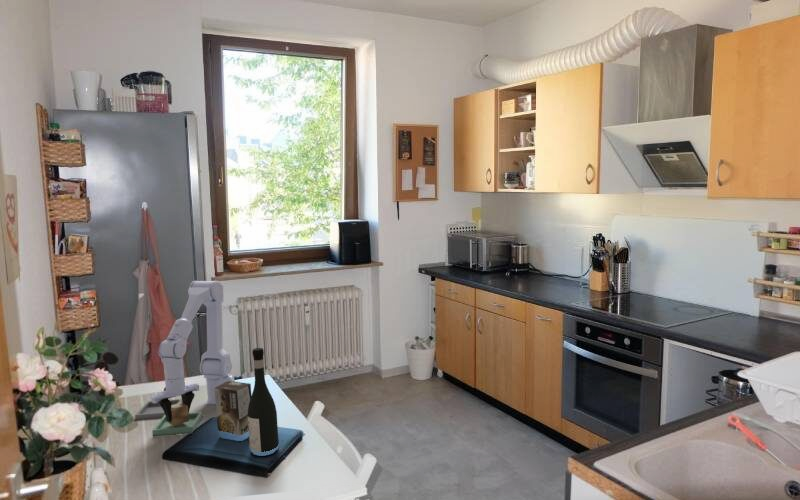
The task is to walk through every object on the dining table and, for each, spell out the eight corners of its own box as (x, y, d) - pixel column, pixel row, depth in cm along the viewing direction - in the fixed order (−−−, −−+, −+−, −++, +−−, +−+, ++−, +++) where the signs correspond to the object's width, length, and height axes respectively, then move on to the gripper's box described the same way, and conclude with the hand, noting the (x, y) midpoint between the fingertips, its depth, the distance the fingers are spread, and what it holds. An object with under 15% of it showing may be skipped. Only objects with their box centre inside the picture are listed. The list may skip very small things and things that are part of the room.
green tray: (202, 417, 183) (202, 411, 183) (193, 433, 171) (192, 427, 171) (165, 420, 182) (164, 414, 182) (152, 436, 170) (152, 430, 170)
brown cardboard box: (182, 417, 180) (180, 401, 179) (189, 421, 176) (187, 405, 176) (166, 421, 176) (165, 406, 176) (173, 426, 173) (172, 410, 172)
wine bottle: (253, 461, 152) (246, 354, 148) (247, 449, 159) (240, 348, 155) (282, 453, 155) (275, 349, 152) (275, 442, 162) (268, 343, 159)
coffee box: (255, 434, 169) (251, 383, 167) (241, 443, 163) (237, 390, 161) (232, 429, 173) (228, 380, 171) (217, 438, 167) (213, 387, 165)
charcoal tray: (183, 404, 196) (182, 398, 196) (173, 417, 184) (172, 412, 184) (147, 406, 195) (147, 401, 194) (135, 420, 183) (134, 415, 182)
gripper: (191, 368, 183) (194, 408, 184) (146, 380, 172) (149, 422, 174) (200, 372, 178) (204, 413, 179) (155, 385, 167) (159, 428, 169)
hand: (178, 418), depth 176 cm, fingers closed on brown cardboard box, 5 cm apart
